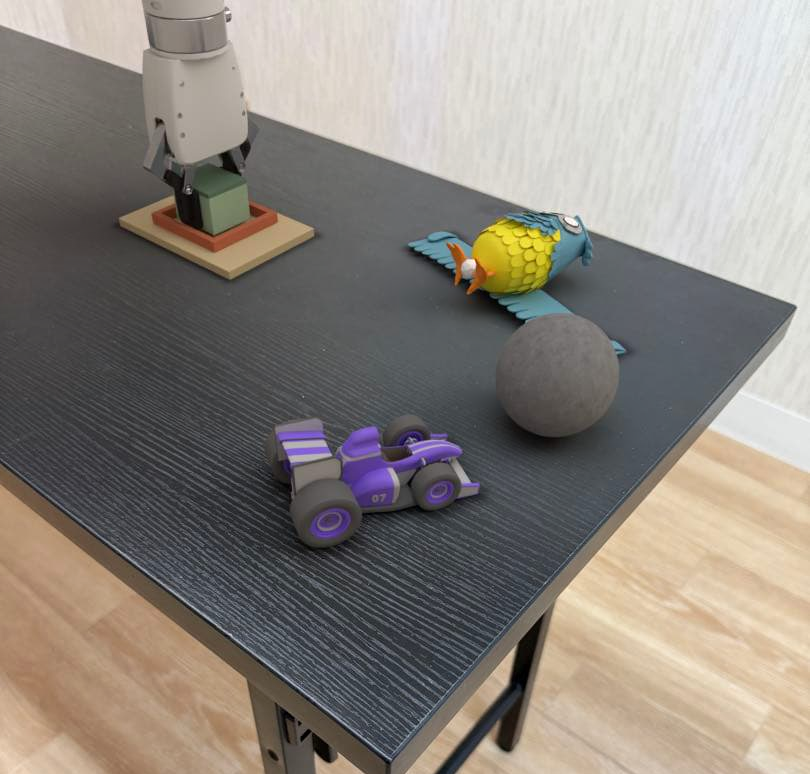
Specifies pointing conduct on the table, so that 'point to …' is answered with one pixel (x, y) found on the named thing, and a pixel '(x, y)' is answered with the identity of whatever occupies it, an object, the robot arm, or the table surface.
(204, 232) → the wooden board with frame
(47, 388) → the table surface
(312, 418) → the toy race car
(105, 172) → the table surface
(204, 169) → the green lidded box
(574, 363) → the decorative ball
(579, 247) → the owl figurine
